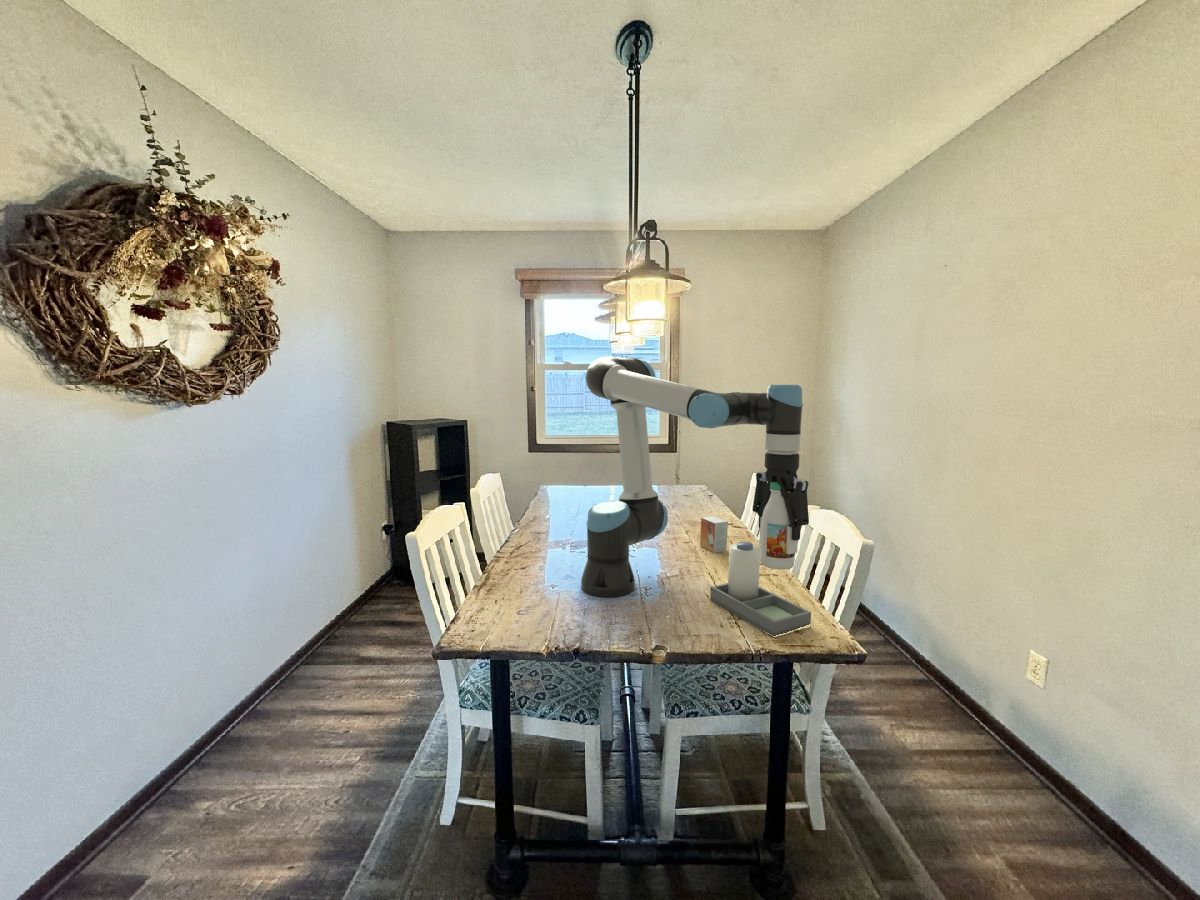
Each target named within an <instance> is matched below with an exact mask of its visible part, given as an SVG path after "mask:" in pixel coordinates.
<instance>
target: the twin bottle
mask: <svg viewBox="0 0 1200 900" xmlns="http://www.w3.org/2000/svg"><path fill="white" fill-rule="evenodd" d="M728 551H729V552H728V575H727V577H728V579H727V583H728V595H730V596H732V597H733V598H735V599H737V600H739V601H741V602H743V601H747V600H751V599H756V598H758V588H759V587H760V586H759V585H760V584H759V582H760V566H761V565H760V564H761V562H760V547H759V546H757V545H754V544H753V543H752V542H749V541H738V542H736V543H732V544H730V545H729V550H728Z"/></svg>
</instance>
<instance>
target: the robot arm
mask: <svg viewBox="0 0 1200 900" xmlns="http://www.w3.org/2000/svg"><path fill="white" fill-rule="evenodd" d="M585 381H586V382H585V383H586V386H587V388H588V390H589V392H590V393H592V394H593V395H595V396H596V397H597V398H602V399H606V400H609V401H610V406H611V407H612V408H613V409H614V410H615V412H616V420H617V432H618V442H619V454H620V465H621V476H622V477H621V478H622V488H623V491H622V493H621V494H620V495H619V497H618V501H617V500H611V501H604V502H598V503H596V504H594V505H593V506H591V507H590V508H589V510H588V512H587V521H586V527H587V532H586V534H587V535H586V536H587V537H586V538H587V542H586V543H587V561H586V563H585V566H584V570H583V573H582V576H581V578H580V579H581V581H580V582H581V583H580V585H581V587H580V588H581V589H582V591H584V592H585V593H586V594H589V595H591V596H596V597H602V598H614V597H615V598H617V597H621V596H626V595H629V594H630V593H631V592H633V591H634V590H635V586H636V577H635V575H634V572H633V569H632V566H631V562H630V546H632V545H636V544H638V543H641V542H645V541H650V540H652V539H654V538H655V537H658V536H659V535H661V534H662V533H663V532H664V531H665V530H666V528H667V524H668V520H669V518H668V516H669V515H668V514H669V513H668V509H667V508H666V505H664V502H663V501H662V500H660V499H659V493H658V492H656V490H654V488H653V481H652V470H651V469H652V468H651V460H650V459H651V458H650V457H651V456H650V447H649V446H650V445H649V434H648V433H649V432H648V424H647V423H648V422H647V412H646V408H649V409H652V410H656V411H660V412H663V413H665V414H669V415H673V416H676V417H679V418H682V419H686V420H689V421H691V422H692V423H694V425H695V426H697V427H698V428H706V429H715V428H720V427H727V426H740V425H758V426H759V425H761V426H765V444H764V446H765V447H764V450H766V452H765V454H764V468H766V471H765V472H763V471H762V472H756V474H755V480H756V483H755V489H754V496H753V502H752V503H753V504H752V508H751V509H752V511H753V513H756V514H757V516H758V528H759V540H758V541H759V545H761V526H762V515H763V511H764V508H765V506H766V504H767V503H768V501H769V498H770V495H771V491H770V483H771V482H777V483H778V485H779V486H780V487H781V488H780V492H781V496H782V497H783V498H784V501H785V505H786V509H787V513H788V517H789V520H790V525H788V526H787V543H786V554H793V553H795V554H797V553H798V545H799V543H798V541H800V539H801V531H802V530H801V528H802V526H808V525H809V524H810V517H809V504H808V503H809V501H808V487H809V481H808V480H802V479H799V477H798V474H797V471H798V470H799V468H800V456H801V455H800V454H799V453H798V452H799V451H800V450H801V448H800V447H801V432H802V431H801V429H802V428H801V427H802V414H803V413H802V412H803V406H804V403H803V389H802V386H801V385H799V384H770V385H768V387H767V390H766V392H761V393H759V392H739V391H733V392H725V393H720V392H714V391H709V390H705V389H701V388H698V387H693V386H689V385H685V384H682V383H678V382H673V381H669V380H665V379H662V378H657V377H656V373H655V370H654V367H652V365H651V364H650V363H649V362H648V361H646V360H644V359H642V358H641V359H640V358H637V357H621V356H620V357H618V356H615V357H613V356H603V357H599V358H597V359H595V360H594V361H593V362H592V363H591V364H590V365H589V366H588V368H587V370H586V374H585ZM790 491H791V492H790ZM787 492H790V493H787ZM795 519H796V521H795Z"/></svg>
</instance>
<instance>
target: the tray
mask: <svg viewBox="0 0 1200 900" xmlns="http://www.w3.org/2000/svg"><path fill="white" fill-rule="evenodd" d="M709 596H710V597H709V600H710V601H711V602H713V603H714V604H716V605H718V606H720V607H721V608H723V609H724V610H726V611H727V612H730V613H731V614H732V615H734V614H735V615H734V616H736V617H737V618H739V617H740V618H739V619H741V618H742V620H743V621H744V620H745V621H744V622H746V621H747V622H746V623H748V622H749V623H750V624H749V623H748V624H749V625H751V624H752V625H751V626H753V625H754V626H756V627H758V628H759V629H758V628H757V629H758V630H760V629H761V630H763V631H765V632H767V633H769V634H771V635H773V636H776V635H779V634H783V633H787V632H789V631H792V630H795V629H798V628H800V627H804V626H806V625H809V624H810V625H811V622H812V621H811V620H812V612H811V611H809V610H808V609H806V608H803V607H801V606H799V605H798V604H796V603H793V602H791V601H789V600H787V599H785V598H783V597H781V596H779V595H778V594H775V593H773V592H772V591H769V590H767V589H765V588H763V587H761V586H759V588H758V598H756V599H751V600H747V601H743V602H741V601H739V600H737V599H735V598H733V597H732V596H730V595H728V582H726V583H721V584H717V585H714V586H713V585H712V586H710V595H709ZM754 626H753V627H754ZM756 627H755V628H756ZM761 630H760V631H761ZM763 631H762V632H763ZM765 632H764V633H765Z"/></svg>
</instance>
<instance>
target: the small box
mask: <svg viewBox="0 0 1200 900" xmlns="http://www.w3.org/2000/svg"><path fill="white" fill-rule="evenodd" d="M728 525H729V521H727V520H724V519H721V518H718V517H716V516H714V515H712V516H705V517H703V516H702V517H701V519H700V539H699V540H700V541H699V546H700V547H701V548H704V549H705V550H708V551H709V552H711V553H713V554H716V553H722V552H727V547H728V545H727V544H728V530H729V529H728V527H729V526H728Z"/></svg>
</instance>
